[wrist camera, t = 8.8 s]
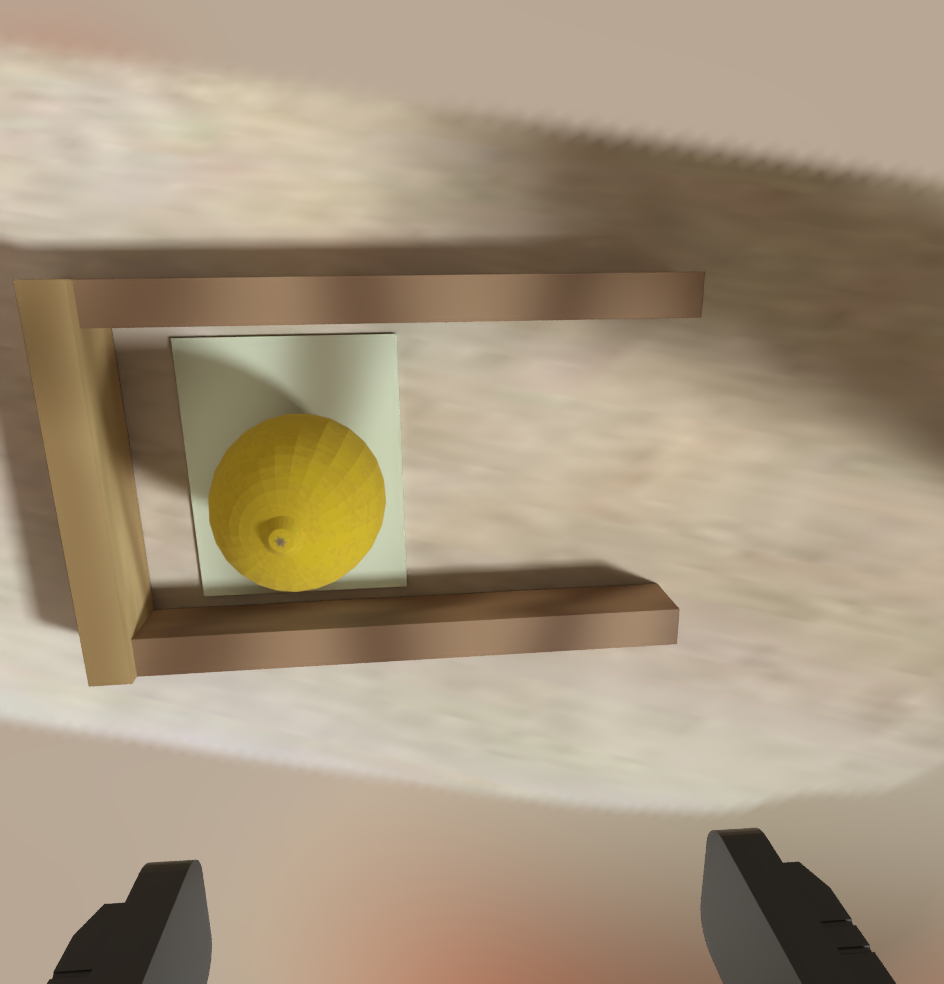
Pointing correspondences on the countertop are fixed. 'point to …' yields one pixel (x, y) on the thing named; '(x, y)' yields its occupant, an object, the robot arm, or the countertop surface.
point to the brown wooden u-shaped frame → (275, 392)
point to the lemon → (296, 502)
